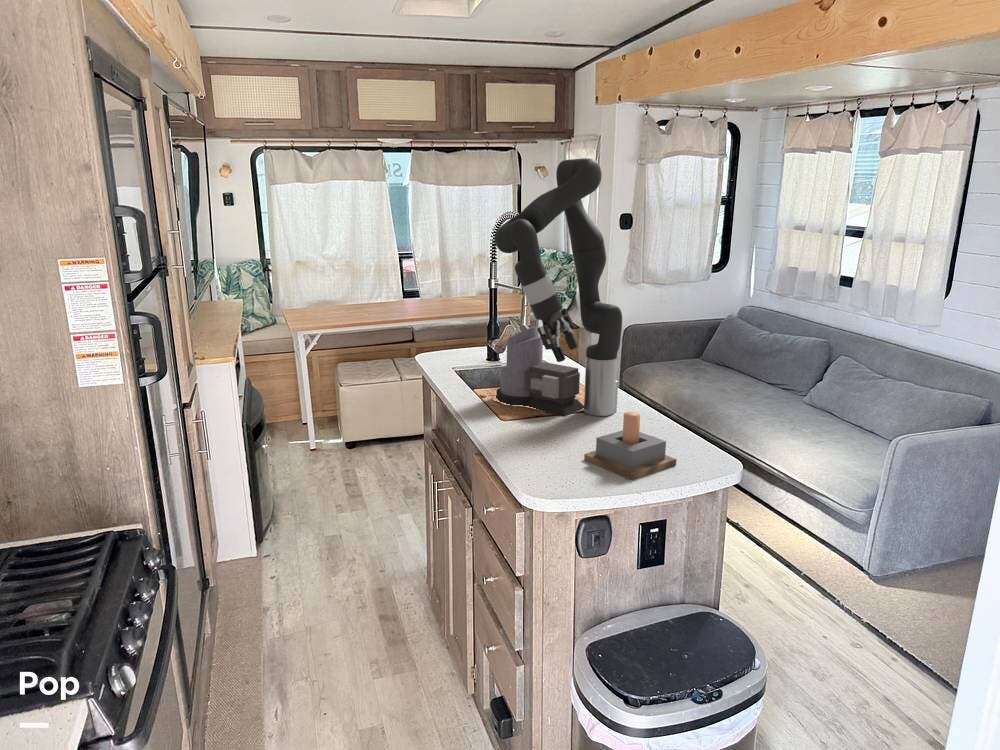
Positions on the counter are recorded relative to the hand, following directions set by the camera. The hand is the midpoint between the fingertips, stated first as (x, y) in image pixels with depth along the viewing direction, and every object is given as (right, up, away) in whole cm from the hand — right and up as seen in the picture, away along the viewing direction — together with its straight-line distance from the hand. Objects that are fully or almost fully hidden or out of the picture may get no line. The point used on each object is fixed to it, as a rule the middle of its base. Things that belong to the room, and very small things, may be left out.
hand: (568, 354), depth 182 cm
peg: (+15, -26, -5) cm, 30 cm away
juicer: (-6, -14, +44) cm, 47 cm away
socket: (+15, -25, -5) cm, 30 cm away
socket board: (+15, -27, -4) cm, 31 cm away
